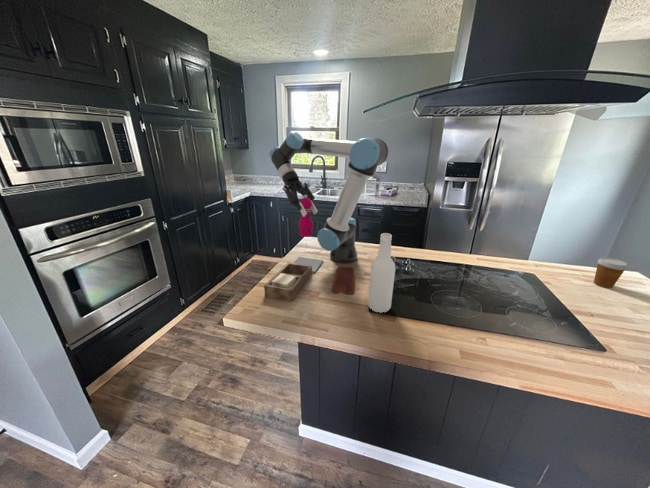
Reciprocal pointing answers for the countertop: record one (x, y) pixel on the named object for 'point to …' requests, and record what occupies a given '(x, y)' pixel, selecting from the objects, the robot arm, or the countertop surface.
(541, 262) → the countertop surface
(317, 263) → the slate tile
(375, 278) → the alcohol
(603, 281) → the disposable coffee cup
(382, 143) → the robot arm
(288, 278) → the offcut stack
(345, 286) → the wooden tablet
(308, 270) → the tray
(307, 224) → the pepper mill
